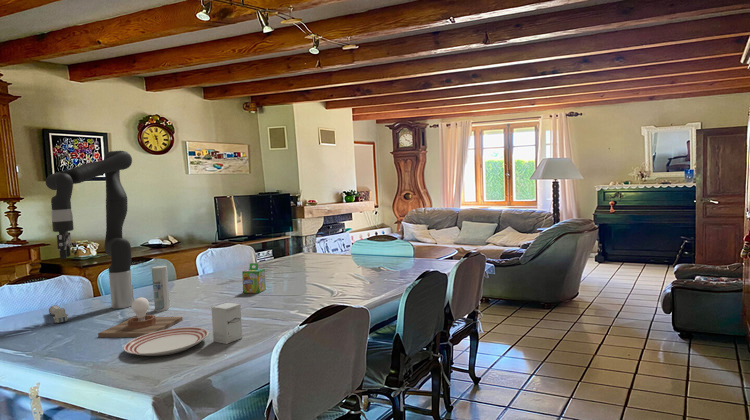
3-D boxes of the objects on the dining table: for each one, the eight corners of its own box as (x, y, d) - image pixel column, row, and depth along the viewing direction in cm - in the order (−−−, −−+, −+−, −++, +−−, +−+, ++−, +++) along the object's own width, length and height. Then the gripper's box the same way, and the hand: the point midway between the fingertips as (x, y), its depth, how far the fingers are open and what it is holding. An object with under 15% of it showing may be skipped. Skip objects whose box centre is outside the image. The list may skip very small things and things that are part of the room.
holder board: (134, 320, 207) (133, 311, 206) (182, 320, 204) (181, 310, 203) (98, 337, 185) (97, 326, 185) (151, 336, 182) (151, 326, 182)
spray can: (151, 311, 222) (148, 267, 221) (162, 307, 228) (159, 265, 227) (162, 311, 220) (159, 268, 219) (173, 308, 226) (170, 265, 225)
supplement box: (227, 344, 169) (224, 308, 168) (212, 341, 173) (210, 306, 172) (243, 338, 175) (241, 303, 174) (229, 335, 179) (227, 302, 178)
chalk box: (242, 293, 251) (241, 265, 250) (250, 289, 260) (248, 262, 259) (259, 293, 249) (257, 264, 249) (266, 289, 258) (264, 261, 258)
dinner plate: (124, 368, 151) (123, 357, 151) (123, 344, 175) (123, 335, 175) (215, 350, 164) (214, 340, 163) (203, 330, 188) (202, 322, 188)
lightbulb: (136, 322, 197) (135, 296, 196) (152, 321, 198) (151, 295, 197) (130, 327, 191) (128, 299, 190) (146, 326, 191) (145, 298, 191)
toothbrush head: (59, 304, 229) (67, 305, 210) (61, 318, 229) (69, 320, 210) (46, 306, 226) (53, 307, 207) (47, 320, 225) (54, 323, 206)
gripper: (69, 220, 202) (72, 258, 203) (75, 218, 215) (78, 254, 216) (48, 221, 199) (51, 260, 200) (56, 219, 212) (59, 256, 213)
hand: (65, 257), depth 208 cm, fingers open, 8 cm apart
